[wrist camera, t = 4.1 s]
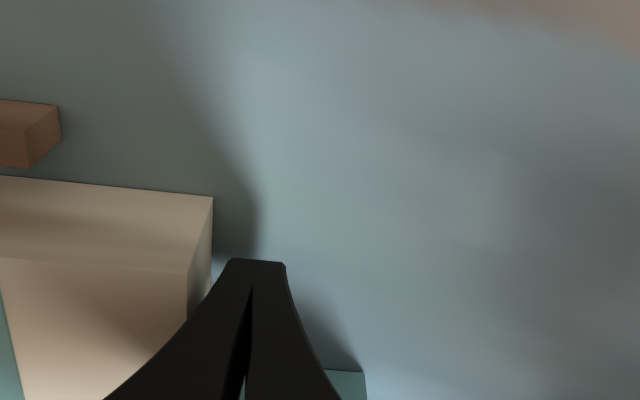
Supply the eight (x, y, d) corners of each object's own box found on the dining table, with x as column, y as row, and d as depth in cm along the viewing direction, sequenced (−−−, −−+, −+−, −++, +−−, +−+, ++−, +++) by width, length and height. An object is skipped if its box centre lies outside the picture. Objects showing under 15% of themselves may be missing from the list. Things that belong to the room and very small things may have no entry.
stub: (209, 322, 14) (186, 418, 11) (22, 306, 14) (-48, 401, 11) (213, 197, 12) (186, 277, 10) (-4, 174, 12) (-97, 251, 9)
